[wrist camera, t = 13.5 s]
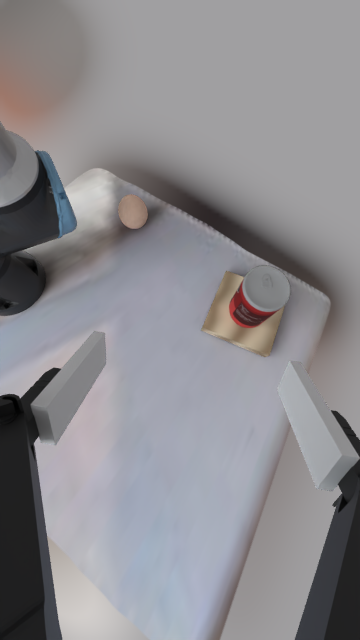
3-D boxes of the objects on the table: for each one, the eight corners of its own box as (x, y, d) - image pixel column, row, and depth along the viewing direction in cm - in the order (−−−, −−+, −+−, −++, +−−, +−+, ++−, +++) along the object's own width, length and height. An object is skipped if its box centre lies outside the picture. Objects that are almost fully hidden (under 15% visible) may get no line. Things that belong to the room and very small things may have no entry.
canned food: (258, 290, 47) (282, 261, 37) (270, 325, 45) (298, 306, 34) (223, 296, 47) (237, 268, 36) (233, 332, 44) (251, 314, 34)
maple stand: (200, 331, 47) (202, 327, 45) (223, 277, 51) (226, 270, 48) (263, 357, 46) (269, 355, 43) (282, 299, 50) (288, 294, 47)
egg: (119, 217, 56) (110, 190, 48) (144, 210, 57) (139, 182, 49) (126, 238, 54) (118, 214, 47) (152, 230, 55) (149, 205, 47)
